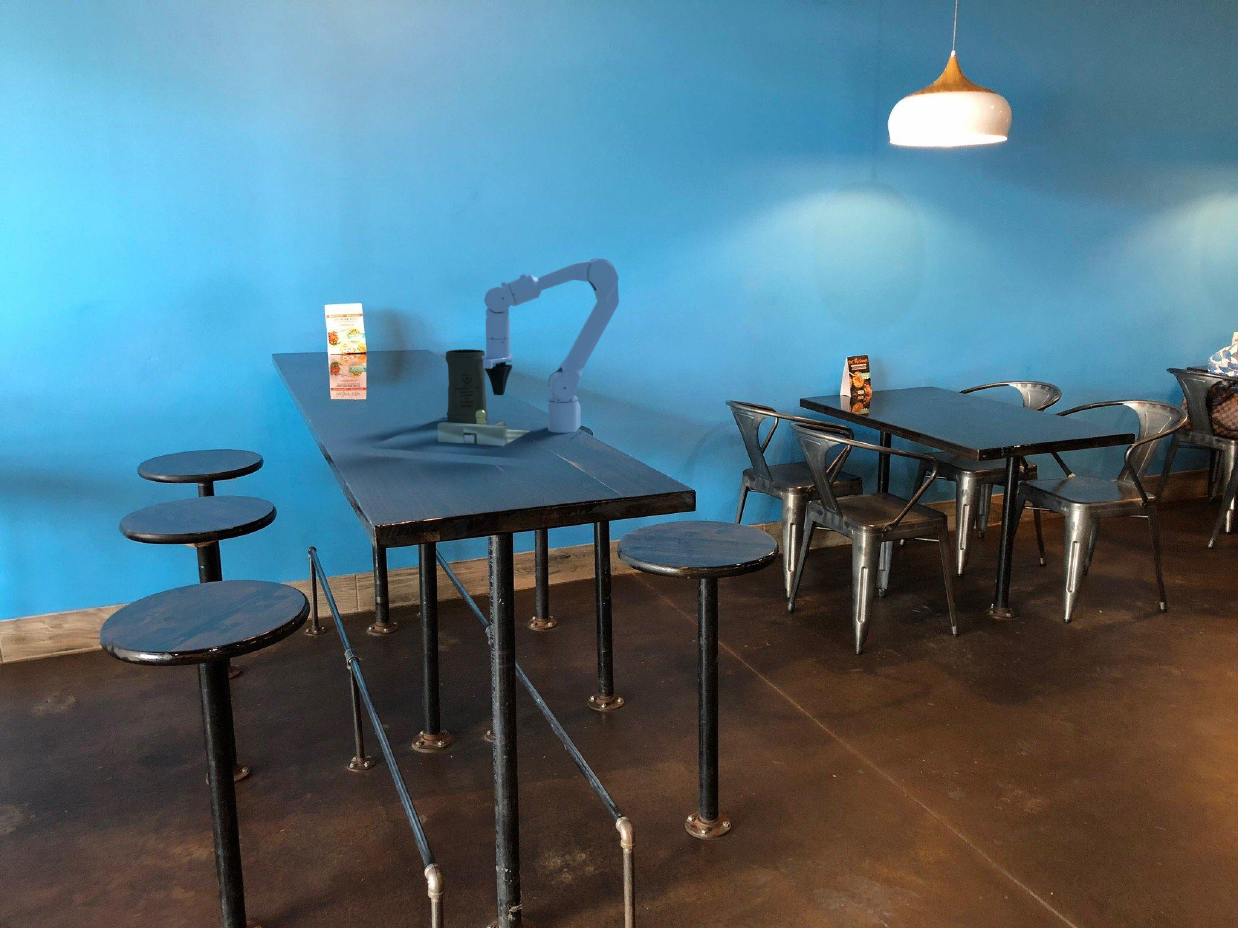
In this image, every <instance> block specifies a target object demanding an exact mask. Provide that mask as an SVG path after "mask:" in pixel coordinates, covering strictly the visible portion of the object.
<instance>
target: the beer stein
mask: <svg viewBox="0 0 1238 928" xmlns="http://www.w3.org/2000/svg"><path fill="white" fill-rule="evenodd" d="M485 351H486V350H483V349H482V350H481V349H467V348H466V349H452V350H447V351H446V352H445V361H446V364H447V372H448V375H447V377H448V387H447V412H446V416H447V417H446V418H447V419H446V423H462V424H477V418H476V412H477V411H478V410H484V411H485V413H486V417H485V421H489V420H488V410H487V398H486V396H487V395H486V377H485V374H486V372H485V368H483V360H485V359H482V356H486V352H485Z"/></svg>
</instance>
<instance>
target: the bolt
mask: <svg viewBox="0 0 1238 928" xmlns="http://www.w3.org/2000/svg"><path fill="white" fill-rule="evenodd" d="M485 417H486V413H485V411H484V410H478V411H477V412H476V418H477V424H478V425H485ZM476 442H477V433H467V434H465V435H464V443H463V444H468V443H476Z"/></svg>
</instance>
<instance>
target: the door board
mask: <svg viewBox="0 0 1238 928" xmlns="http://www.w3.org/2000/svg"><path fill="white" fill-rule="evenodd" d="M506 423H507V422H506V421H499V422H497V423H495V424H493V425H491V424H490V421H489V420H488V421H485V425H478V424H462V423H447V421H446V422H443V421H442V422H439V423H437V426H436V427H437V442H438V443H439V442H442V443H455V444H457V443H458V444H465V443H464V435H465V434H467V433H477V442H476V443H467V444H469V445H470V444H471V445H482V446H483V445H486V446H497V447H498V446H499V447H504V446H506V445H508V444H510V443H511V442H513V441H516V440H517V439H519V438H521V437H522V436H524V435H526V434H528V433H530V432H531V431H530V430H523V429H522V430H520V429H508V426H507V424H506Z"/></svg>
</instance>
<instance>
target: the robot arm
mask: <svg viewBox="0 0 1238 928" xmlns="http://www.w3.org/2000/svg"><path fill="white" fill-rule="evenodd" d="M616 270H617V269H616V268H615V266H614V263H613V262H612V261H610V260H609V259H604V258H600V257H597V258H592V259H590V260H584V261H583V260H582V261H578V262H574V263H571V264H568V265H566V266H564V267H561V268H558V269H556V270H554V271H551V272H548V273H546V274H543V275H542V276H538V277H536V276H534V275H532V274H528V275H527V274H526V273H522V274H520V275H519V278H517V279H514V280H511V281H509V282H506V281H502V282H501V283H500V285H501V286H494V287H490V288H489V289H488V290H487V292H486V293H485V296H484V298H483V301H484V304H485V306H486V311H485V316H486V318H485V351H486V352H485V356H482V359H485V360H483V368H484V372H485V373H486V374H487V376H488V378H489V380H490V385H491V390H492V393H493V395H494V396H504V394H505V391H506V386H507V381H508V378H509V375H510V373H511V371H512V369H513V364H508V363H510V362H511V363H512V362H514V357H513V356H514V354H513V353H511V319H510V318H509V317H510V313H509V311H510V310H509V308H510V307H511V306H512V307H517V306H519V305H522V304H525V303H527V302H530V301H533V300H535V299H538V298H540V296H541V293H542V292H543V290H547V289H550V288H553V287H555V286H559V285H562V284H565V283H569V282H571V281H579V282H580V281H581V282H588V284H589V285H590V286H591V288H592V290H593V293H594V296H595V300H596V303H595V305H594V306H593V308H592V310H591V312H590V314H589V316H588V318H587V319H586V321H585V323H584V325H583V326H582V328H581V330H580V332H579V333H578V336H577V338H576V339H575V341H574V342H573V344H572V347H571V348H570V350H569V352H568V353H567V355H566V358H564V359H563V360H562V363H561V364H560V365H559V367H558V368H557V369H556V370H555V371H554V372H552V373H551V374H550V375H549V377H548V381H547V385H548V388H549V390H550V391H551V393H550V395H549V396H548V397H547V431H548V432H551V433H560V434H568V433H574V432H577V431H578V429H579V428H581V424H582V423H581V419H582V418H581V415H582V414H581V413H582V412H581V409H582V408H581V405H580V403H579V401H578V396H576V395H577V392H578V387H579V385H578V383H579V381H580V379H581V377H582V373H583V371H584V368H585V366H586V365H587V362H589V361H588V360H589V359H590V357H591V355H592V353H593V351H594V350H595V348H596V346H597V345H598V343H599V340H600V339H601V337H602V335H603V334H604V331H605V330H606V329H607V326H608V324H609V322H610V320H611V319H612V317H613V316H614V314H615V311H616V309H617V308H618V306H619V303H620V298H619V275H618V272H617V271H616ZM583 433H585V430H582V431H580V432H578V433H577V434H576V435H574V436H572V437H571V438H570V440H573V439H576V438H577V437H579V436H580V435H582V434H583Z"/></svg>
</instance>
